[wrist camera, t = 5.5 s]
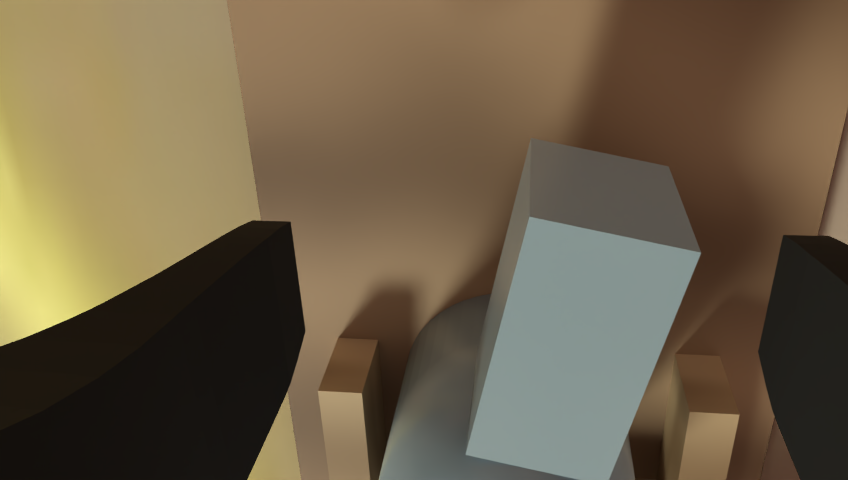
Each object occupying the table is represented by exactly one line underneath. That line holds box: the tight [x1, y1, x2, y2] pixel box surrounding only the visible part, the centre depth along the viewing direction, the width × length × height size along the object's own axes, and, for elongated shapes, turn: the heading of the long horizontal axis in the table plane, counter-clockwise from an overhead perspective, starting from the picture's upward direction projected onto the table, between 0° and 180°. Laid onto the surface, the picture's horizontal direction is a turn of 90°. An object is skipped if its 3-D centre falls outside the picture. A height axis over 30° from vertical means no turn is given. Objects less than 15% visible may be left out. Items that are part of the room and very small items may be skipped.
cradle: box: [227, 0, 848, 480], centre depth 16 cm, size 18×12×3 cm, turn 2°
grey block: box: [379, 138, 701, 480], centre depth 15 cm, size 5×10×5 cm, turn 171°
